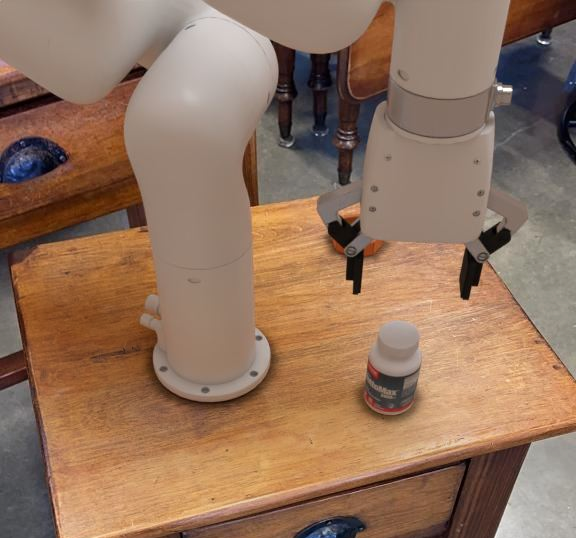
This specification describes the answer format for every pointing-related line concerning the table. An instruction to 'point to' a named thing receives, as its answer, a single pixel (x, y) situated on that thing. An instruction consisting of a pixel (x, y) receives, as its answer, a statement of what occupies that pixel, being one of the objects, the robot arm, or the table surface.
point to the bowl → (369, 248)
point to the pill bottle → (393, 368)
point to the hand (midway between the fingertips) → (409, 287)
